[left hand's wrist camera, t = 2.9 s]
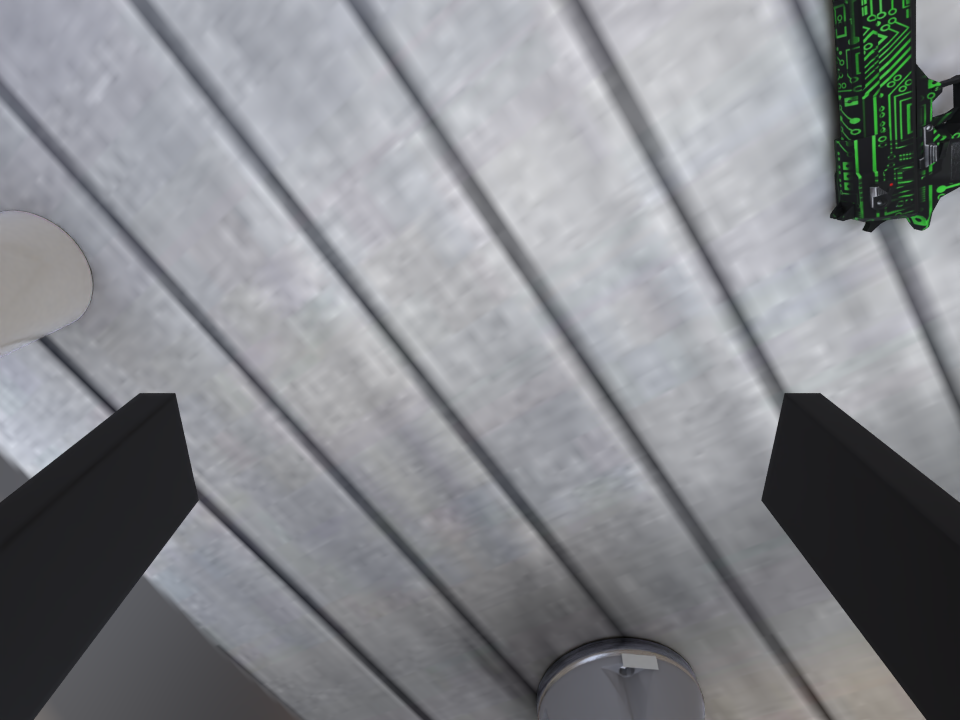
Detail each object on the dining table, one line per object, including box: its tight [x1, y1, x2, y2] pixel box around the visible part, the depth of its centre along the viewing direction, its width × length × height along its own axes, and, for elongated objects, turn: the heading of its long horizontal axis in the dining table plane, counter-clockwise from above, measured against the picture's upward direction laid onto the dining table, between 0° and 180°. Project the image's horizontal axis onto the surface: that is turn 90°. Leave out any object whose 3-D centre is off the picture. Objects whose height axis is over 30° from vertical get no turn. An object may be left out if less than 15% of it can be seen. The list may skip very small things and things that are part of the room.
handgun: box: [830, 0, 960, 232], centre depth 34 cm, size 16×3×15 cm
